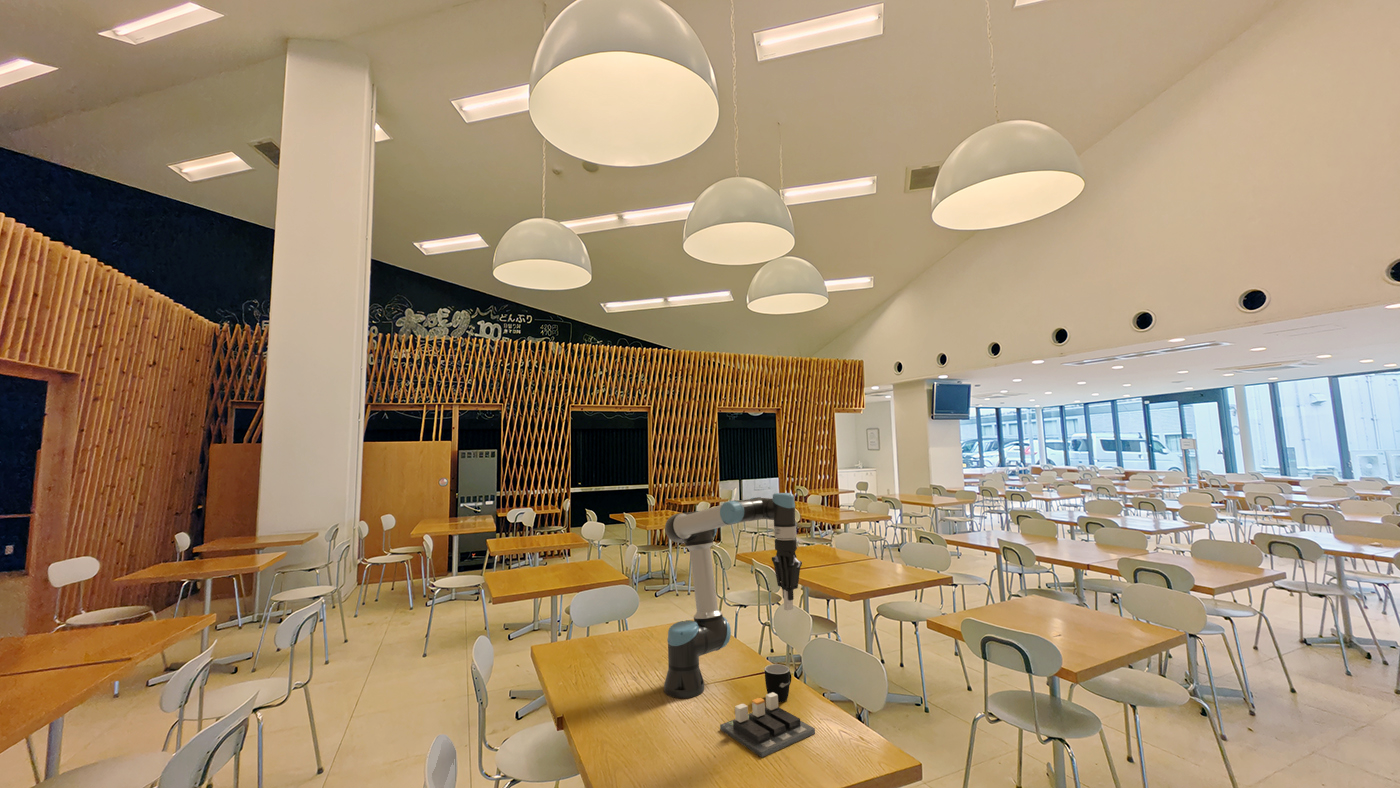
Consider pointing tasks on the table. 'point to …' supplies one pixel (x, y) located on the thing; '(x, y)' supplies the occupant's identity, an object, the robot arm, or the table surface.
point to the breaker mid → (758, 707)
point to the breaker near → (741, 712)
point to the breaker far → (771, 701)
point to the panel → (770, 749)
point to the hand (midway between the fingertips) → (788, 609)
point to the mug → (778, 680)
